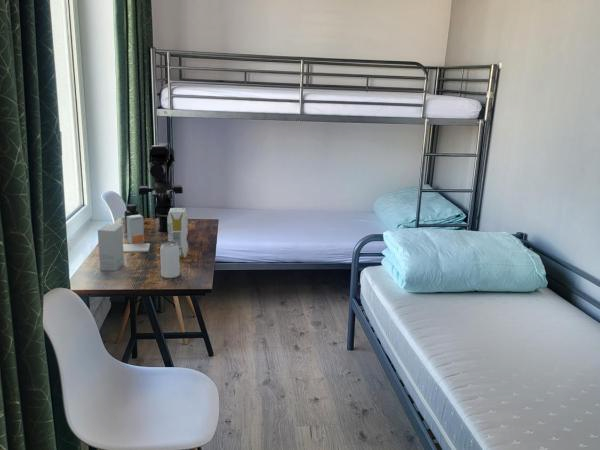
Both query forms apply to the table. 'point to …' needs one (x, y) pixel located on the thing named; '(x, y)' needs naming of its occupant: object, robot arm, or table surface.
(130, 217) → the skincare box
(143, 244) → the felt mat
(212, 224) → the table surface
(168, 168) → the robot arm
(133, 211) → the supplement bottle
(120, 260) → the skincare box
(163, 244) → the can
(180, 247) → the juice carton
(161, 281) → the table surface
